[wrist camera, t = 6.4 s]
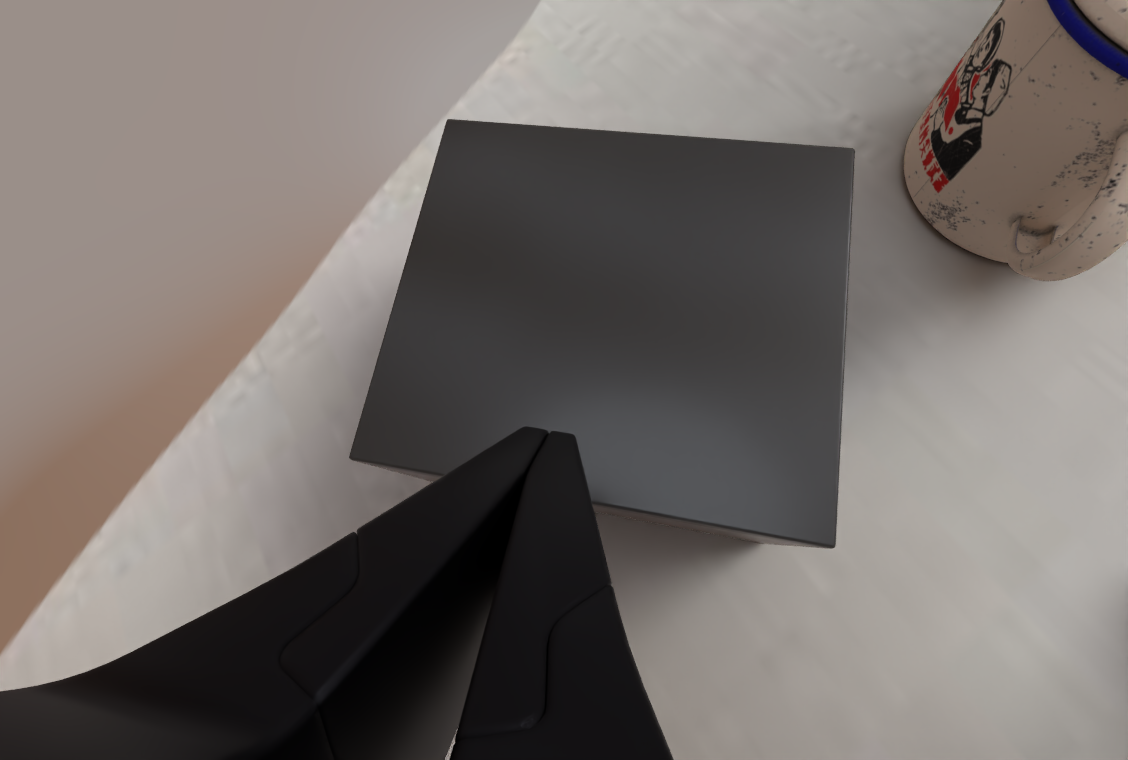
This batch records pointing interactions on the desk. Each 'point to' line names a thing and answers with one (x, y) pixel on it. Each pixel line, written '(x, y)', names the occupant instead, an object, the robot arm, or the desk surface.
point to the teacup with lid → (1031, 139)
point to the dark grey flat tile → (629, 320)
